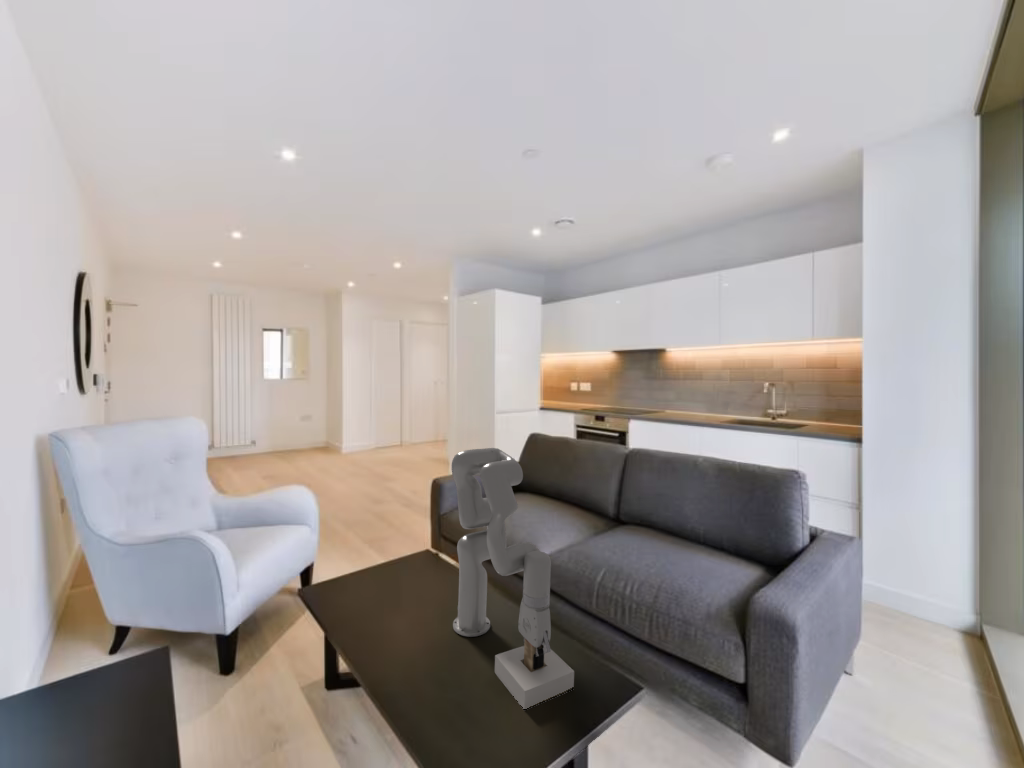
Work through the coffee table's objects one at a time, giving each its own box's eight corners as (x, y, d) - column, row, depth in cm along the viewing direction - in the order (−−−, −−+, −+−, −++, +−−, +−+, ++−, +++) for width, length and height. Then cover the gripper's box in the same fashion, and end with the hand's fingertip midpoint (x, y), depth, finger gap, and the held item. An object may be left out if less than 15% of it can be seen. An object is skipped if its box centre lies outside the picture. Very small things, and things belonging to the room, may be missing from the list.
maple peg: (523, 671, 122) (524, 636, 122) (535, 667, 124) (536, 632, 124) (531, 680, 118) (532, 644, 118) (543, 675, 120) (544, 640, 120)
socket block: (494, 672, 124) (495, 655, 124) (540, 655, 132) (541, 639, 132) (524, 710, 110) (524, 691, 110) (573, 689, 118) (574, 671, 118)
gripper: (509, 587, 126) (507, 649, 126) (541, 616, 112) (539, 686, 112) (531, 582, 130) (528, 642, 130) (565, 609, 115) (562, 676, 116)
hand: (533, 662), depth 121 cm, fingers closed on maple peg, 3 cm apart
